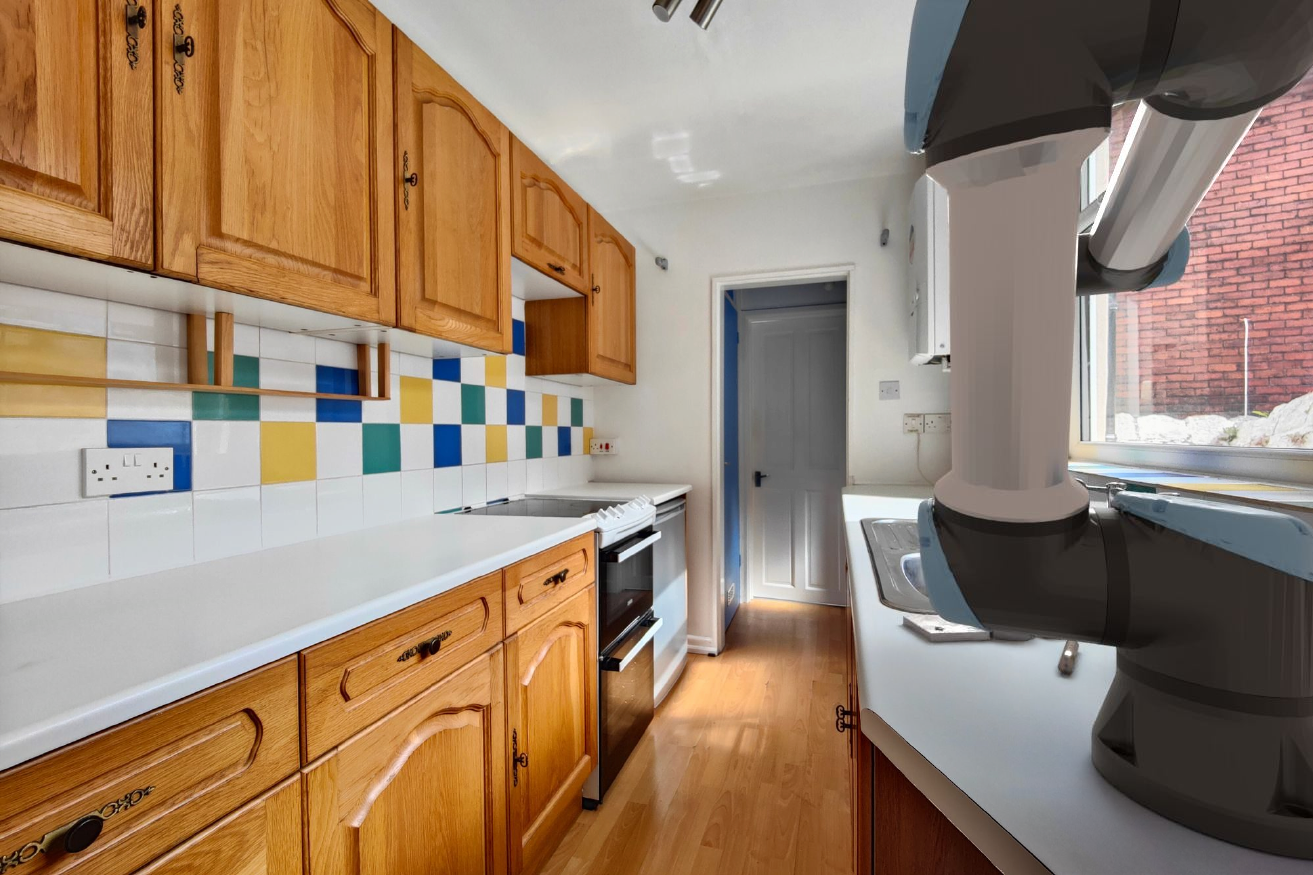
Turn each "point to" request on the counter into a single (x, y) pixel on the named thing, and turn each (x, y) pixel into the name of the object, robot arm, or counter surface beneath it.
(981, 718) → the counter surface
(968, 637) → the hinge
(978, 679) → the counter surface
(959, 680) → the counter surface
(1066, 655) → the old pin
